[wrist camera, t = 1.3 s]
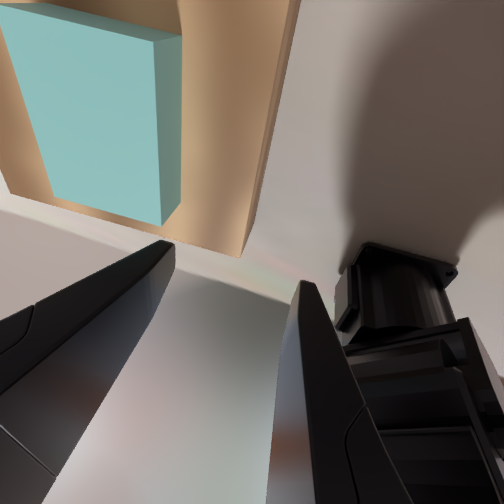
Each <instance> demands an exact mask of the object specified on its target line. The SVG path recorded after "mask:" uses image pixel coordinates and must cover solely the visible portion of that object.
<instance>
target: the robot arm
mask: <svg viewBox="0 0 504 504" xmlns="http://www.w3.org/2000/svg"><path fill="white" fill-rule="evenodd" d="M367 249H372V250H371V251H367ZM174 269H175V245H174V244H173V243H171V242H168V241H164V240H159V241H156V242H154V243H152V244H150V245H149V246H147V247H145V248H143V249H141V250H139V251H137V252H135V253H133V254H131V255H129V256H127V257H125V258H123V259H121V260H119V261H117V262H116V263H113V264H111V265H109V266H107V267H105V268H104V269H102V270H99V271H97V272H96V273H94V274H92V275H90V276H88V277H86V278H84V279H82V280H80V281H78V282H76V283H74V284H72V285H70V286H68V287H66V288H64V289H62V290H60V291H58V292H56V293H54V294H52V295H50V296H48V297H46V298H44V299H42V300H40V301H39V302H37V303H36V304H35V306H34V305H31V306H28V307H27V308H25V309H23V310H21V311H19V312H17V313H15V314H13V315H11V316H9V317H6V318H4V319H2V320H0V504H41V503H42V502H43V500H44V498H45V497H46V495H47V493H48V492H49V490H50V488H51V487H52V485H53V483H54V482H55V480H56V477H57V476H58V475H59V473H60V471H61V470H62V468H63V466H64V465H65V463H66V461H67V460H68V458H69V456H70V455H71V453H72V451H73V450H74V448H75V446H76V445H77V443H78V441H79V440H80V438H81V436H82V435H83V433H84V431H85V430H86V428H87V426H88V425H89V423H90V421H91V420H92V418H93V417H94V415H95V413H96V411H97V410H98V408H99V407H100V405H101V403H102V402H103V400H104V398H105V397H106V395H107V393H108V391H109V390H110V388H111V386H112V385H113V383H114V381H115V379H116V378H117V377H118V375H119V373H120V371H121V370H122V368H123V366H124V365H125V363H126V361H127V360H128V358H129V356H130V355H131V353H132V352H133V350H134V348H135V347H136V345H137V343H138V342H139V340H140V338H141V337H142V335H143V333H144V332H145V330H146V328H147V326H148V325H149V323H150V321H151V320H152V318H153V316H154V314H155V312H156V310H157V307H158V305H159V303H160V301H161V298H162V296H163V294H164V292H165V290H166V287H167V285H168V283H169V281H170V278H171V276H172V274H173V272H174ZM447 271H451V272H447ZM457 275H458V271H457V268H456V267H455V266H454V265H452V264H448V263H445V262H441V261H437V260H434V259H430V258H426V257H423V256H419V255H415V254H412V253H408V252H404V251H401V250H397V249H393V248H390V247H386V246H382V245H379V244H375V243H370V242H368V243H365V244H363V245H362V247H361V248H360V250H359V252H358V254H357V256H356V258H355V260H354V261H353V263H352V265H351V264H350V265H348V266H346V268H345V270H344V272H343V274H342V276H341V278H340V280H339V282H338V283H337V285H336V288H335V297H334V302H335V323H334V327H335V329H336V330H337V331H339V332H342V346H341V344H340V341H339V339H338V336H337V334H336V332H335V329H334V327H333V324H332V322H331V320H330V317H329V315H328V312H327V310H326V308H325V305H324V303H323V301H322V298H321V296H320V293H319V291H318V289H317V286H316V284H315V283H313V282H309V281H306V280H300V281H299V284H298V286H297V289H296V291H295V294H294V296H293V299H292V302H291V306H290V310H289V315H288V319H287V324H286V328H285V333H284V337H283V342H282V346H281V352H280V359H279V369H278V378H277V389H276V400H275V411H274V421H273V432H272V442H271V453H270V464H269V474H268V485H267V496H266V504H504V388H503V385H502V383H501V380H500V378H499V376H498V374H497V371H496V369H495V367H494V365H493V363H492V361H491V359H490V357H489V355H488V353H487V351H486V349H485V347H484V346H483V344H482V342H481V340H480V338H479V336H478V334H477V332H476V330H475V329H474V327H473V325H472V323H471V321H470V319H469V317H466V318H462V319H457V322H456V319H455V317H454V314H453V311H452V308H451V305H450V302H449V300H448V297H447V294H446V291H445V288H446V287H447V286H448V285H449V284H450V283H451V282H452V281H453V279H454V278H455V277H456V276H457Z"/></svg>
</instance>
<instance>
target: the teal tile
mask: <svg viewBox="0 0 504 504" xmlns="http://www.w3.org/2000/svg"><path fill="white" fill-rule="evenodd" d="M0 26H1V29H2V33H3V36H4V39H5V42H6V45H7V48H8V51H9V55H10V58H11V61H12V64H13V67H14V70H15V74H16V77H17V80H18V83H19V86H20V89H21V93H22V96H23V99H24V102H25V105H26V108H27V112H28V115H29V118H30V121H31V124H32V127H33V131H34V134H35V137H36V140H37V143H38V146H39V150H40V153H41V156H42V159H43V162H44V165H45V169H46V172H47V175H48V178H49V181H50V184H51V188H52V191H53V194H54V197H57V198H61V199H64V200H68V201H71V202H75V203H78V204H82V205H86V206H89V207H93V208H96V209H100V210H103V211H107V212H110V213H114V214H118V215H121V216H125V217H128V218H132V219H135V220H139V221H142V222H146V223H149V224H153V225H157V226H160V227H162V226H163V224H164V223H165V222H166V220H167V219H168V218H169V217H170V215H171V214H172V213H173V212H174V210H175V209H176V208H177V207H178V205H179V204H180V203H181V127H182V35H178V34H174V33H170V32H166V31H162V30H157V29H153V28H149V27H145V26H141V25H136V24H132V23H128V22H124V21H120V20H116V19H111V18H107V17H103V16H99V15H95V14H90V13H86V12H82V11H78V10H74V9H70V8H65V7H61V6H57V5H53V4H49V3H0Z"/></svg>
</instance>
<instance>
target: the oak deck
mask: <svg viewBox="0 0 504 504" xmlns="http://www.w3.org/2000/svg"><path fill="white" fill-rule="evenodd" d="M0 3H49V4H53V5H57V6H61V7H65V8H70V9H74V10H78V11H82V12H86V13H90V14H95V15H99V16H103V17H107V18H111V19H116V20H120V21H124V22H128V23H132V24H136V25H141V26H145V27H149V28H153V29H157V30H162V31H166V32H170V33H174V34H178V35H182V127H181V203H180V204H179V205H178V207H177V208H176V209H175V210H174V212H173V213H172V214H171V215H170V217H169V218H168V219H167V220H166V222H165V223H164V224H163V226H162V227H160V226H157V225H153V224H149V223H146V222H142V221H139V220H135V219H132V218H128V217H125V216H121V215H118V214H114V213H110V212H107V211H103V210H100V209H96V208H93V207H89V206H86V205H82V204H78V203H75V202H71V201H68V200H64V199H61V198H57V197H54V194H53V191H52V188H51V184H50V181H49V178H48V175H47V172H46V169H45V165H44V162H43V159H42V156H41V153H40V150H39V146H38V143H37V140H36V137H35V134H34V131H33V127H32V124H31V121H30V118H29V115H28V112H27V108H26V105H25V102H24V99H23V96H22V93H21V89H20V86H19V83H18V80H17V77H16V74H15V70H14V67H13V64H12V61H11V58H10V55H9V51H8V48H7V45H6V42H5V39H4V36H3V33H2V29H1V26H0V170H1V172H2V174H3V177H4V179H5V181H6V184H7V186H8V189H9V191H10V193H11V194H14V195H18V196H21V197H25V198H28V199H32V200H35V201H39V202H42V203H46V204H49V205H53V206H56V207H60V208H64V209H67V210H71V211H74V212H78V213H81V214H85V215H88V216H92V217H95V218H99V219H102V220H106V221H109V222H113V223H116V224H120V225H123V226H127V227H130V228H134V229H138V230H141V231H145V232H148V233H152V234H155V235H159V236H162V237H166V238H169V239H173V240H176V241H180V242H183V243H187V244H190V245H194V246H197V247H201V248H204V249H208V250H212V251H215V252H219V253H222V254H226V255H229V256H233V257H236V258H240V257H241V255H242V252H243V250H244V247H245V245H246V242H247V240H248V237H249V235H250V232H251V230H252V227H253V224H254V220H255V216H256V211H257V206H258V201H259V197H260V192H261V187H262V183H263V178H264V173H265V168H266V164H267V159H268V154H269V149H270V145H271V140H272V135H273V130H274V126H275V121H276V116H277V112H278V107H279V102H280V97H281V93H282V88H283V83H284V78H285V74H286V69H287V64H288V59H289V55H290V50H291V45H292V41H293V36H294V31H295V26H296V22H297V17H298V12H299V7H300V3H301V0H0Z"/></svg>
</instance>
